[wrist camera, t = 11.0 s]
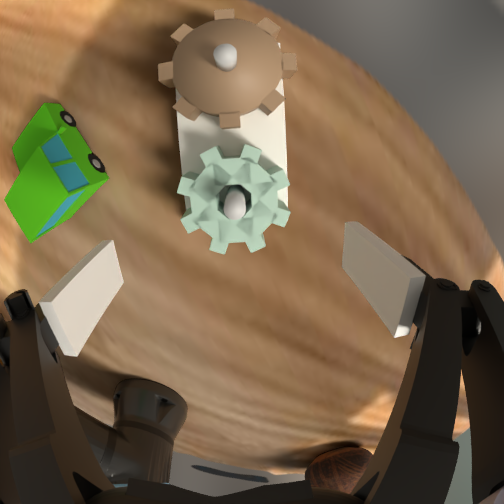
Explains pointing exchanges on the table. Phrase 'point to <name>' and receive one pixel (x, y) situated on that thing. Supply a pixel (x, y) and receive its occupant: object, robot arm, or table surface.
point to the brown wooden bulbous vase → (339, 468)
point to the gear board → (234, 142)
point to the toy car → (52, 172)
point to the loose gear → (212, 209)
